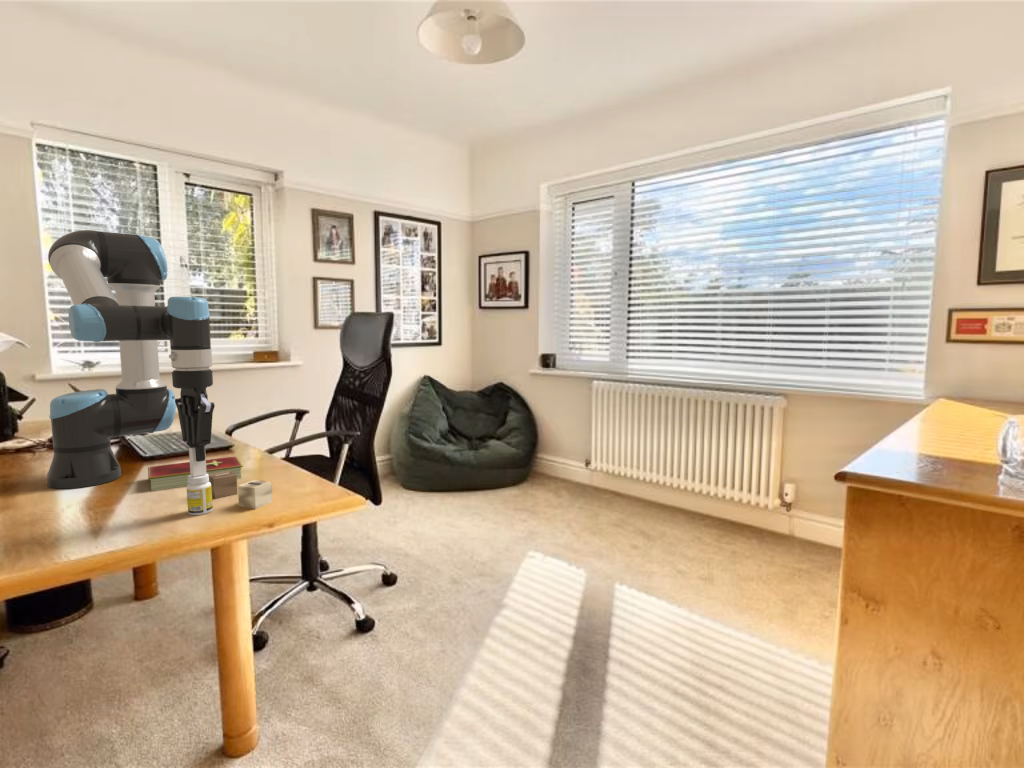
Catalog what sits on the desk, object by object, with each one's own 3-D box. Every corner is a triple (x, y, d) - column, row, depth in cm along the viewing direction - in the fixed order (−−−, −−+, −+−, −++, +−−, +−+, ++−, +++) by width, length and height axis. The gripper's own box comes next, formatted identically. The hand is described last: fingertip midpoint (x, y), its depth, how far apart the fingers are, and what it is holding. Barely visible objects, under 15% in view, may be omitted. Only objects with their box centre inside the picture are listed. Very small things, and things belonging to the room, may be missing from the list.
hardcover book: (148, 480, 140) (147, 465, 140) (236, 469, 152) (236, 455, 152) (149, 493, 130) (148, 477, 130) (243, 479, 142) (242, 464, 142)
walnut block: (208, 494, 130) (207, 474, 129) (230, 489, 133) (229, 470, 133) (215, 499, 126) (214, 478, 126) (237, 494, 130) (236, 474, 129)
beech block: (238, 506, 122) (237, 485, 121) (256, 499, 126) (255, 479, 126) (255, 509, 120) (254, 487, 119) (272, 502, 125) (271, 481, 124)
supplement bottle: (207, 506, 121) (205, 471, 120) (216, 511, 118) (214, 475, 117) (184, 512, 117) (182, 475, 116) (192, 517, 114) (190, 480, 113)
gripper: (159, 368, 114) (166, 473, 117) (187, 372, 107) (194, 484, 110) (196, 366, 121) (202, 466, 123) (225, 369, 113) (230, 475, 116)
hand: (198, 474), depth 117 cm, fingers closed
